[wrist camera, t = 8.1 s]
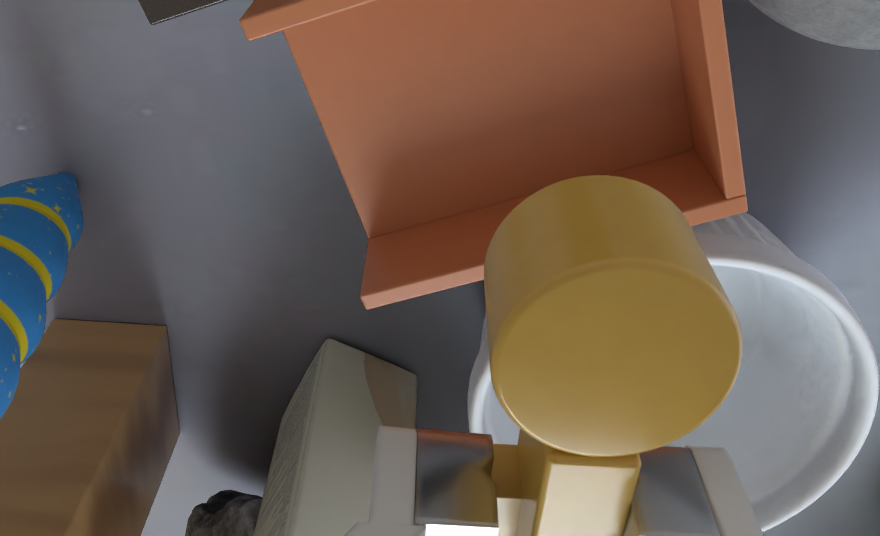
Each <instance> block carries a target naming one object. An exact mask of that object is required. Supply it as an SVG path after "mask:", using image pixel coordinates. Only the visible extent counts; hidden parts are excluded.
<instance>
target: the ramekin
mask: <svg viewBox="0 0 880 536" xmlns="http://www.w3.org/2000/svg"><path fill="white" fill-rule="evenodd" d="M691 228H692V230H693V232H694V234H695V236H696V238H697V240H698V242H699V244H700V246H701V247H702V249H703V251H704V253H705V255H706V257H707V259H708V261H709V263H710V265H711V267H712V268H713V270H714V272H715V274H716V276H717V278H718V280H719V282H720V284H721V286H722V288H723V289H724V291H725V293H726V295H727V297H728V299H729V301H730V303H731V305H732V307H733V309H734V311H735V313H736V315H737V317H738V320H739V324H740V327H741V331H742V341H743V349H742V359H741V364H740V368H739V372H738V376H737V378H736V380H735V383H734V385H733V387H732V389H731V391H730V392H729V394H728V396H727V398H726V399H725V400H724V402H723V403H722V404H721V405H720V407H719V408H718V409H717V410H716V411H715V412H714V413H713V414H712V415H711V416H710V417H709V418H708V419H707V420H706V421H705V422H704V423H702V424H701V425H700V426H699V427H697V428H696V429H695V430H693V431H691V432H690V433H688V434H687V435H685V436H684V437H682V438H680V439H678V440H676V441H674V442H672V443H670V444H667V445H682V446H686V445H691V446H712V447H724V448H725V449H726V450H727V451H728V452H729V454H730V456H731V458H732V461H733V463H734V466H735V468H736V470H737V473H738V475H739V477H740V480H741V482H742V485H743V487H744V489H745V492H746V494H747V497H748V499H749V501H750V504H751V506H752V508H753V511H754V513H755V516H756V518H757V520H758V523H759V525H760V527H761V530H762V532H764V531H766V530H768V529H770V528H772V527H774V526H776V525H778V524H780V523H782V522H784V521H786V520H787V519H789V518H791V517H792V516H794V515H796V514H797V513H799V512H800V511H802V510H803V509H805V508H806V507H808V506H809V505H810V504H812V503H813V502H814V501H815V500H817V499H818V498H819V497H820V496H821V495H823V494H824V493H825V492H826V491H827V490H828V489H829V488H830V487H831V486H832V485H833V484H834V483H835V482H836V481H837V480H838V479H839V478H840V477H841V476H842V474H843V473H844V472H845V471H846V469H847V468H848V467H849V466H850V465H851V463H852V462H853V460H854V458H855V457H856V455H857V454H858V453H859V451H860V449H861V448H862V446H863V444H864V442H865V440H866V438H867V436H868V433H869V431H870V428H871V426H872V423H873V420H874V416H875V413H876V408H877V402H878V394H879V373H878V367H877V361H876V356H875V352H874V349H873V347H872V344H871V341H870V338H869V336H868V334H867V332H866V330H865V329H864V327H863V325H862V323H861V321H860V320H859V318H858V316H857V315H856V313H855V312H854V310H853V309H852V307H851V305H850V304H849V302H848V301H847V299H846V298H845V297H844V296H843V294H842V293H841V292H840V291H839V290H838V289H837V287H836V286H835V285H834V284H833V283H832V282H831V281H830V280H829V279H827V278H826V277H825V276H824V275H823V274H822V273H821V272H819V271H818V270H817V269H815V268H814V267H813V266H811V265H810V264H808V263H807V262H805V261H804V260H802V259H800V258H798V257H797V256H796V255H795V254H794V253H793V252H792V251H791V250H790V249H789V248H788V247H787V246H786V245H785V244H784V243H783V242H782V241H780V240H779V239H778V238H777V237H776V236H775V235H774V234H773V233H772V232H770V231H769V230H768V229H767V228H766V227H765V226H764V225H763V224H762V223H761V222H759V221H758V220H757V219H756V218H754V217H753V216H751V215H749V214H747V213H746V212H744V213H740V214H736V215H732V216H728V217H724V218H720V219H717V220H713V221H709V222H705V223H701V224H697V225H693V226H691ZM468 421H469V432H470V433H479V434H491V435H492V439H493V444H510V445H518V438H519V432H520V428H519V427H518V426H517V425H516V424H515V422H514V421H513V420H512V419H511V418H510V417H509V416H508V414H507V413H506V412H505V410H504V409H503V407H502V406H501V404H500V402H499V400H498V398H497V396H496V394H495V391H494V388H493V385H492V381H491V373H490V361H489V347H488V332H487V318H486V313H485V319H484V324H483V331H482V338H481V345H480V351H479V353H478V355H477V358H476V360H475V363H474V366H473V369H472V372H471V376H470V381H469V389H468Z"/></svg>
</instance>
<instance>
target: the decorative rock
mask: <svg viewBox="0 0 880 536" xmlns="http://www.w3.org/2000/svg"><path fill="white" fill-rule="evenodd" d="M261 502H262V497H260V496H256V495H250V494H244V493H241V492H237V491H233V490H224V491H220V492H218V493H217V494H215V495H213V496H211V497H210V498H209V499H208V501H207V503H202V504H199V505H197V506H195V508H194V509H193V510H192V514H191V515H190V517H189V519H188V523H187V528H186V534H185V536H254V532H255V528H256V524H257V519H258V515H259V511H260V507H261Z"/></svg>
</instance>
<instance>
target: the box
mask: <svg viewBox="0 0 880 536" xmlns="http://www.w3.org/2000/svg"><path fill="white" fill-rule="evenodd" d="M416 395H417V376H416V375H415V374H413V373H411V372H409V371H407V370H404V369H402V368H400V367H398V366H395V365H393V364H391V363H388V362H386V361H384V360H381V359H379V358H376V357H374V356H372V355H369V354H367V353H365V352H362V351H360V350H357V349H355V348H352V347H350V346H347V345H345V344H343V343H340V342H337V341H335V340H333V339H327V340H326V341H325V342H324V343H323V345H322V346H321V348H320V349H319V351H318V353H317V354H316V356H315V357H314V359H313V361H312V362H311V364H310V366H309V368H308V369H307V371H306V373H305V375H304V377H303V379H302V380H301V382H300V384H299V386H298V388H297V390H296V391H295V393H294V395H293V397H292V399H291V401H290V403H289V405H288V407H287V409H286V411H285V413H284V415H283V417H282V419H281V424H280V428H279V433H278V437H277V441H276V445H275V449H274V454H273V458H272V462H271V465H270V470H269V474H268V478H267V482H266V486H265V490H264V494H263V498H262V502H261V507H260V511H259V515H258V519H257V524H256V528H255V532H254V536H344V535H345V534H346V533H347V532H348V531H349V530H350V529H351V528H352V527H353V526H354V525H355V524H356V522H368V521H369V511H370V501H371V491H372V480H373V470H374V460H375V450H376V440H377V433H378V429H379V426H389V427H400V428H410V429H416Z"/></svg>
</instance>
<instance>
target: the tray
mask: <svg viewBox="0 0 880 536" xmlns="http://www.w3.org/2000/svg"><path fill="white" fill-rule="evenodd" d="M224 1H227V0H139V2H140V4H141V6H142V8H143V10H144V12H145V14H146V16H147V18H148V20H149V22H150V24H151V25H155V24H158V23H161V22H164V21H167V20H170V19H173V18H176V17H179V16H182V15H185V14H188V13H191V12H194V11H197V10H200V9H203V8H206V7H209V6H212V5H215V4H218V3H221V2H224ZM240 24H241V27H242V29H243V31H244V34H245V36H246V38H247V40H248V41H252V40H255V39H258V38H261V37H264V36H267V35H270V34H273V33H276V32H280V31H283V33H284V36H285V38H286V41H287V43H288V45H289V48H290V50H291V53H292V55H293V57H294V60H295V62H296V65H297V67H298V70H299V72H300V74H301V77H302V79H303V82H304V84H305V86H306V89H307V91H308V94H309V96H310V98H311V101H312V103H313V106H314V108H315V111H316V113H317V115H318V118H319V120H320V123H321V125H322V127H323V130H324V132H325V135H326V137H327V140H328V142H329V144H330V147H331V149H332V152H333V154H334V156H335V159H336V161H337V164H338V166H339V169H340V171H341V173H342V176H343V178H344V181H345V183H346V185H347V188H348V190H349V193H350V195H351V198H352V200H353V202H354V205H355V207H356V210H357V212H358V214H359V217H360V219H361V222H362V224H363V227H364V229H365V231H366V234H367V236H368V239H369V240H368V247H367V253H366V260H365V267H364V274H363V280H362V287H361V294H360V297H361V300H362V302H363V304H364V306H365V308H366V309H367V310H368V309H372V308H376V307H380V306H383V305H387V304H391V303H395V302H399V301H403V300H407V299H411V298H414V297H418V296H422V295H426V294H430V293H434V292H438V291H442V290H445V289H449V288H453V287H457V286H461V285H465V284H469V283H473V282H476V281H480V280H484V263H485V258H486V253H487V250H488V247H489V244H490V241H491V239H492V238H493V236H494V234H495V232H496V230H497V228H498V227H499V226H500V224H501V223H502V221H503V220H504V219H505V218H506V217H507V215H508V214H509V213H510V212H511V211H512V210H513V209H514V208H515V207H516V206H518V205H519V204H520V203H521V202H522V201H523V200H525V199H526V198H528V197H529V196H531V195H532V194H534V193H535V192H537V191H539V190H541V189H543V188H545V187H547V186H549V185H551V184H554V183H557V182H559V181H562V180H566V179H570V178H574V177H580V176H589V175H609V176H617V177H623V178H627V179H631V180H635V181H638V182H641V183H643V184H646V185H648V186H650V187H652V188H654V189H655V190H657V191H659V192H661V193H662V194H663V195H665V196H666V197H667V198H669V199H670V200H671V201H672V202H673V203H674V204H675V205H676V206H677V207H678V208H679V209H680V210H681V212H682V213H683V215H684V216H685V218H686V219H687V221H688V223H689V225H690V226H693V225H697V224H701V223H705V222H709V221H713V220H717V219H720V218H724V217H728V216H732V215H736V214H740V213H744V212H747V211H748V205H747V197H746V195H745V193H746V189H745V181H744V173H743V165H742V157H741V149H740V141H739V133H738V125H737V117H736V109H735V101H734V93H733V85H732V77H731V69H730V61H729V53H728V45H727V37H726V29H725V21H724V13H723V5H722V0H254V2H253V3H252V4H251V6H250V7H249V8H248V10H247V11H246V12H245V14H244V15H243V16H242V18H241V19H240Z"/></svg>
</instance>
